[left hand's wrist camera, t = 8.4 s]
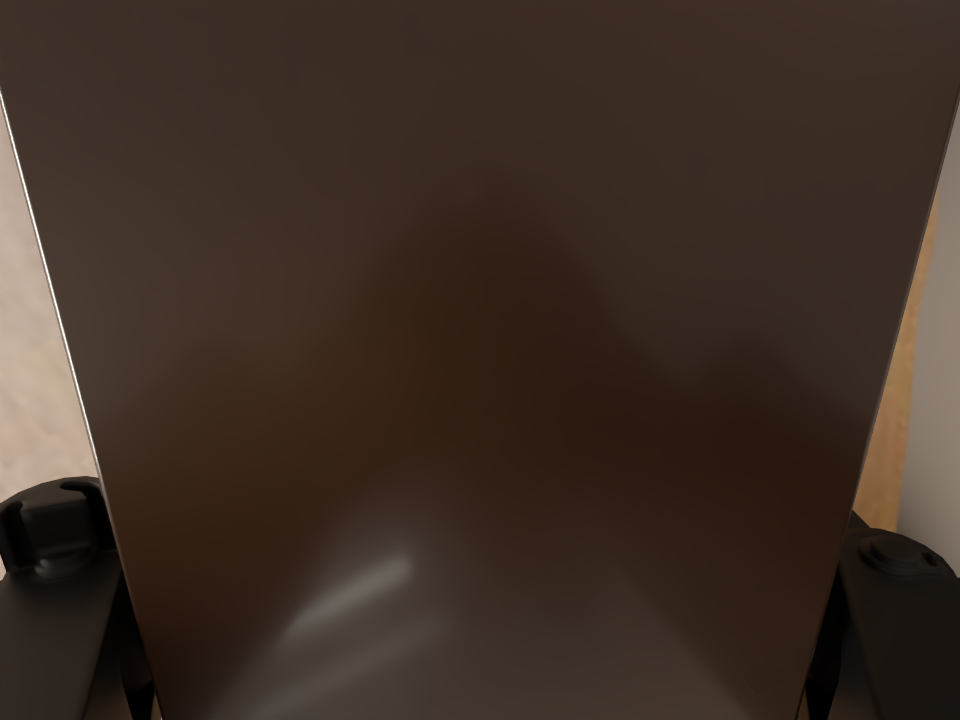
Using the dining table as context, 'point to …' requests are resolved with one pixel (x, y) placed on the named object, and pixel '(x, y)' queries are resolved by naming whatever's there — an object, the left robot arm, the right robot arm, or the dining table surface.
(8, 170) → the dining table surface
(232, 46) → the walnut box
